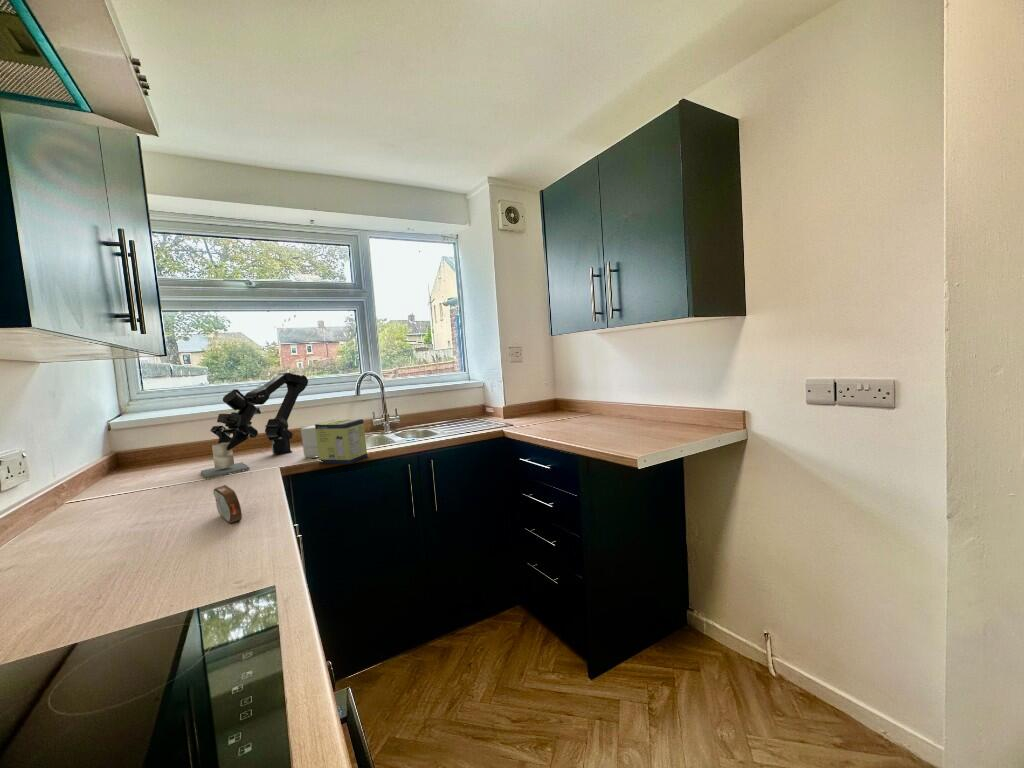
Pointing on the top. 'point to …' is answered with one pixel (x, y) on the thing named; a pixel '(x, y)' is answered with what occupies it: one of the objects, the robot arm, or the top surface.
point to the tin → (227, 504)
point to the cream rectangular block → (222, 455)
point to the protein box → (341, 441)
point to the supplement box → (309, 441)
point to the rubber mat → (224, 470)
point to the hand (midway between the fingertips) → (222, 450)
